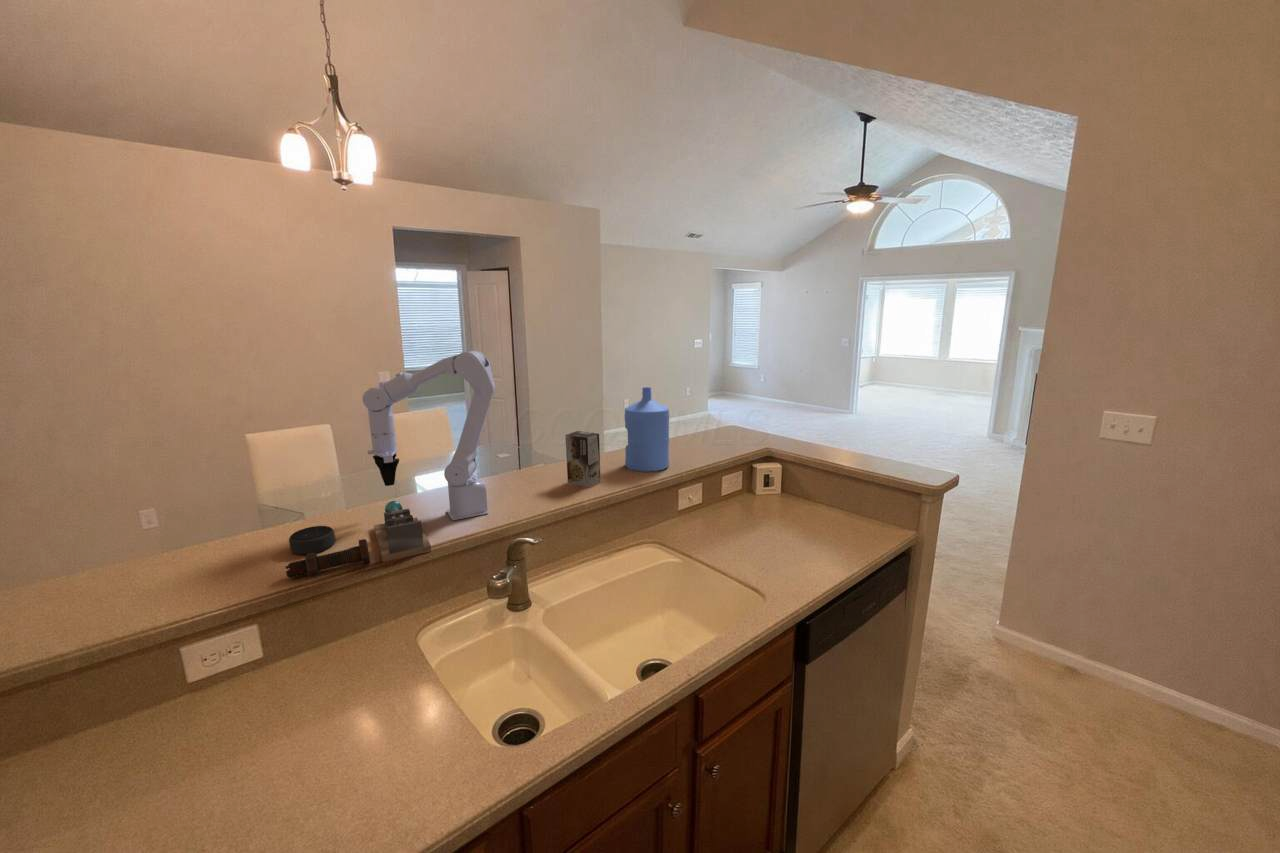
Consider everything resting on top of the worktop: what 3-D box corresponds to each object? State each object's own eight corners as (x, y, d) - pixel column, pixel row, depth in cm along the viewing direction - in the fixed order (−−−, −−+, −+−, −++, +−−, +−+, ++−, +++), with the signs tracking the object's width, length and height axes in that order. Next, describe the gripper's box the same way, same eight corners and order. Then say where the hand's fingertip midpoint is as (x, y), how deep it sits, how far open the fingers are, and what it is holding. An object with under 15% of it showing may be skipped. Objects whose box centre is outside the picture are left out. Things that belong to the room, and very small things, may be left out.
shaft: (385, 517, 134) (383, 502, 133) (402, 514, 136) (400, 499, 135) (392, 537, 121) (390, 521, 120) (411, 534, 123) (409, 518, 122)
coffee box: (601, 482, 167) (600, 433, 164) (589, 487, 162) (587, 437, 159) (579, 477, 172) (577, 430, 169) (566, 483, 167) (564, 434, 164)
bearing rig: (374, 530, 130) (371, 502, 129) (417, 522, 135) (414, 495, 134) (382, 562, 114) (379, 529, 112) (431, 551, 119) (428, 520, 117)
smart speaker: (281, 555, 118) (278, 539, 117) (310, 539, 126) (308, 523, 125) (316, 557, 116) (314, 541, 116) (344, 541, 125) (342, 525, 124)
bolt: (290, 586, 108) (371, 566, 115) (286, 584, 103) (370, 563, 111) (286, 558, 109) (366, 540, 116) (282, 555, 105) (366, 536, 112)
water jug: (678, 465, 185) (678, 387, 179) (648, 475, 174) (647, 392, 168) (646, 458, 196) (645, 383, 190) (616, 466, 185) (614, 388, 179)
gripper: (363, 429, 139) (369, 478, 142) (367, 440, 127) (374, 493, 130) (392, 426, 143) (397, 474, 146) (399, 436, 131) (404, 488, 134)
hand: (388, 482), depth 138 cm, fingers open, 4 cm apart
